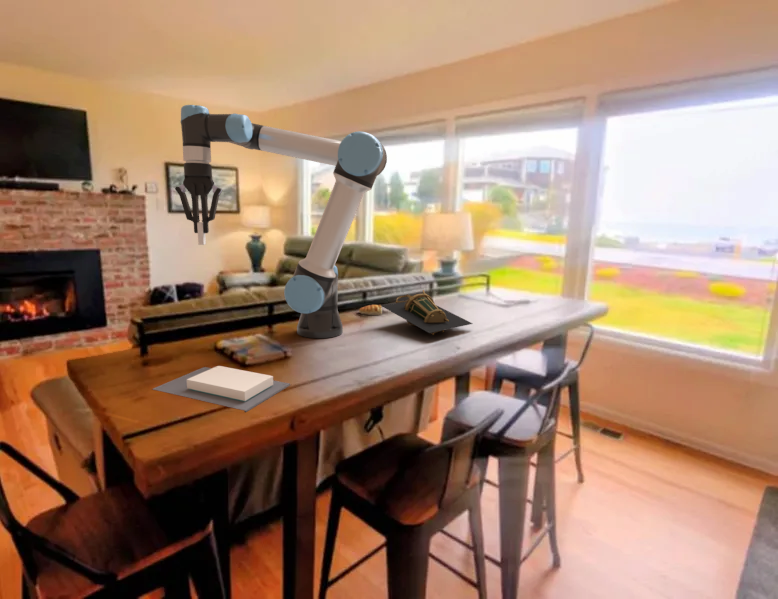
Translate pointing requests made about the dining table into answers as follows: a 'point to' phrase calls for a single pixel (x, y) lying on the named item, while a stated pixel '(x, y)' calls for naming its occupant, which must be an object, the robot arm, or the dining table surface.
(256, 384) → the tile
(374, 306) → the pastry
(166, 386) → the mat
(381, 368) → the dining table surface
